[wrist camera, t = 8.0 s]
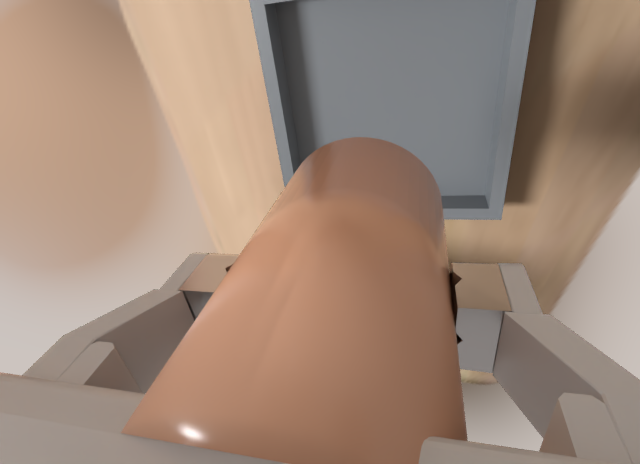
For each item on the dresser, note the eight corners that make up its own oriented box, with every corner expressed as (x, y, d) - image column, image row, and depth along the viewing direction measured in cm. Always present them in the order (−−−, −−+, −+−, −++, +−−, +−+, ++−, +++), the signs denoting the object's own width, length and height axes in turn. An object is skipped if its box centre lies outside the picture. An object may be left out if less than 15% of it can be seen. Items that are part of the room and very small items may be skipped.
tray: (262, -12, 21) (246, -12, 19) (531, -55, 18) (545, -59, 16) (299, 202, 29) (290, 218, 27) (495, 201, 25) (501, 219, 23)
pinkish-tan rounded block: (275, 140, 12) (41, 389, 4) (447, 132, 11) (512, 463, 3) (299, 269, 15) (178, 555, 7) (438, 275, 13) (462, 632, 6)
